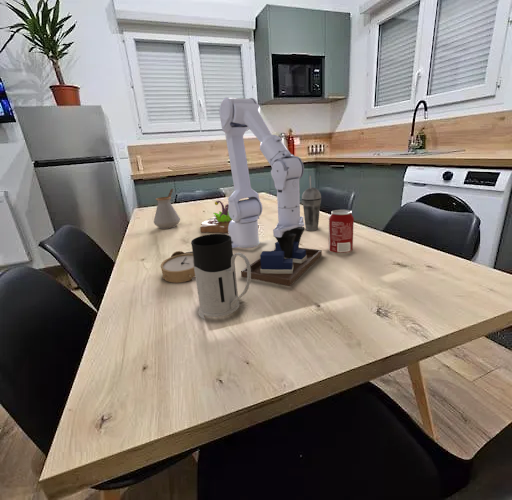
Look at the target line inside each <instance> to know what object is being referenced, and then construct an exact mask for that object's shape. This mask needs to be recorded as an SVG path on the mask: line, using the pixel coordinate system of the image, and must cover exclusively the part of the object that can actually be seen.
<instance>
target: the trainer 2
mask: <svg viewBox="0 0 512 500" xmlns="http://www.w3.org/2000/svg"><path fill="white" fill-rule="evenodd" d="M299 248H300V242H295V241H294V243H293V251H292V257H291V258H285V259H293V262H295V263H303V262H304V261H305V260H306V259H307V256H306V250H303V249H299ZM274 249H275V251H282V250H281V247H280V245H279V243H278V241H276V242H275V243H274Z"/></svg>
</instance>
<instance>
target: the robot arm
mask: <svg viewBox="0 0 512 500" xmlns="http://www.w3.org/2000/svg"><path fill="white" fill-rule="evenodd" d="M218 114H219V119H220V125H221V131H222V132H224V136H225V141H226V147H227V153H228V160H229V167H230V170H231V178H232V182H233V190H234V191H233V192H232V193H231V194H230V195H229V197H228V198H227V202H228V203H227V204H229V206H228V213H229V216H230V218H231V219H232V221H230V223H229V226H228V232H227V233H228V234H227V235H229V236H231V241H232V249H234V248H242V249H250V248H251V249H252V248H256V247H258V246H259V245H260V243H261V241H260V237H259V236H260V234H259V221H258V220H260V216H261V215H262V214H263V204H262V202H261V200H260V196H259V193H258V192H257V191H256V190H254V189H253V188H252V185H251V184H252V183H251V178H250V177H251V176H250V171H249V166H248V160H247V159H248V158H247V153H246V146H245V140H244V135H245V133H246V132H247V131H249V130H250V131H251V132H252V134H253V135H254V136H255V138H256V139H257V140H258V141H259V142H260V145H259V150H260V152H261V153H262V155H263V156H264V159H266V161H267V163H268V164H269V165H270V166H271V170H270V174H271V178H272V180H273V182H274V188H275V190H276V201H277V218H278V219H277V221H278V222H277V223H276V226H275V228H273V229H272V234H273V236H272V237H274V239H276V242H278V243H279V245H280V247H281V250H282V251H284V258H291V257H292V251H293V243H294V241H295V242H299V243H300V242H301V240H302V239H301V238H302V236H303V233H304V232H305V221H304V216H301V199H300V198H301V196H300V179H302V178H303V176H304V173H305V166H304V165H305V164H304V163H303V161H302V158H301V157H299V156H296V155H294V154H293V153H291V152H290V150H289V149H288V148H287V147H286V145H285V144H284V142H283V141H282V140H283V139H282V137H281V136H280V135H277V134H272V133H271V131H270V129H269V127H268V125H267V124H266V122H265V120H264V118H263V117H262V115H261V106H260V104H259V103H258V101H257V100H256V99H255V98H253V97H250V98H241V97H229V96H228V97H227V96H226V97H223V99H222V100H221V102H220V106H219V109H218Z"/></svg>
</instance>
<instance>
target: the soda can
mask: <svg viewBox="0 0 512 500" xmlns="http://www.w3.org/2000/svg"><path fill="white" fill-rule="evenodd" d="M354 221H355V218H354V216H353V214H352V210H349V209H335V210H332V211H331V214H330V215H329V217H328V251H329V252H331V253H333V254H348V253H352V252H353V248H354V247H353V245H354V243H353V242H354V224H355V222H354Z"/></svg>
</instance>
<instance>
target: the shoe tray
mask: <svg viewBox="0 0 512 500" xmlns="http://www.w3.org/2000/svg"><path fill="white" fill-rule="evenodd" d="M299 249H303V250H306V256H307V259H306V260H305V261H304V262H303V263H295V262H293V266H294V269H293V274H271V273H261V272H260V269H261V259H260V258H259V259H257V260H256V261H254V262H252V263H250V267H251V280H256V281H261V282H266V283H270V284H271V283H272V284H276V285H281V286H287V287H291V285H293V284H294V283H295V282H296V281H297V280H298V279H299V278H300V277H301V276H302V275H303V274H304V273H305V272H307V270H308V269H309V268H310V267H311V266H312V265H313V264H314V263H316V262H317V261H318V260H319V259H320V258H321V257H322V255H323V250H322V249H315V248H307V247H299ZM271 251H275V248H273V249H272V250H271ZM240 275H241V278H246V279H247V267H245V268H243V269H241V271H240Z"/></svg>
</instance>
